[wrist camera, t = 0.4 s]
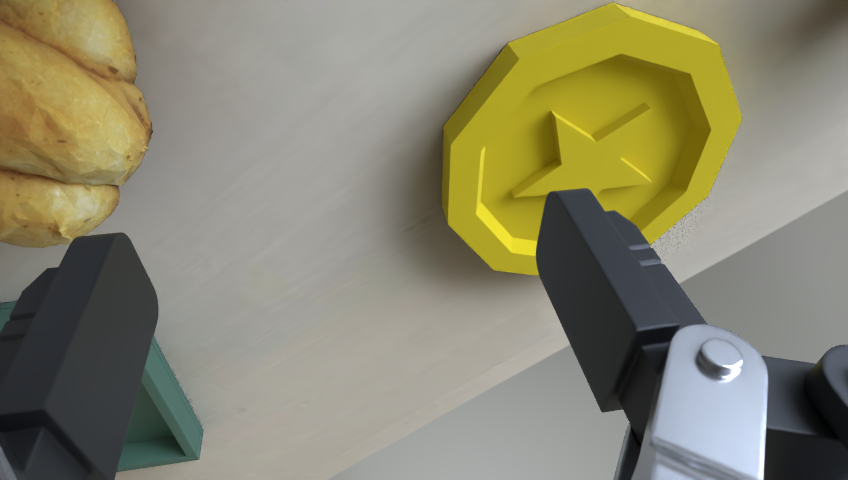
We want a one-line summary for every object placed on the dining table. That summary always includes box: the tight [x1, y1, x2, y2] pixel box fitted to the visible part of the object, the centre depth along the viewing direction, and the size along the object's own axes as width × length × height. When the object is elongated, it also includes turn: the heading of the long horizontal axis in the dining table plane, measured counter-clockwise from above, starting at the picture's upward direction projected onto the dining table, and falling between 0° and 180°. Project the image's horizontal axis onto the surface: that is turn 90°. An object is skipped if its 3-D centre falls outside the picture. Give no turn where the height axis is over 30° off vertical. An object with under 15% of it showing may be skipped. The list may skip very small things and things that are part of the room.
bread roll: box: [0, 0, 153, 248], centre depth 22 cm, size 13×10×8 cm
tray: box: [0, 301, 203, 472], centre depth 37 cm, size 18×14×3 cm
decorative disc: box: [442, 3, 742, 276], centre depth 31 cm, size 17×18×2 cm
